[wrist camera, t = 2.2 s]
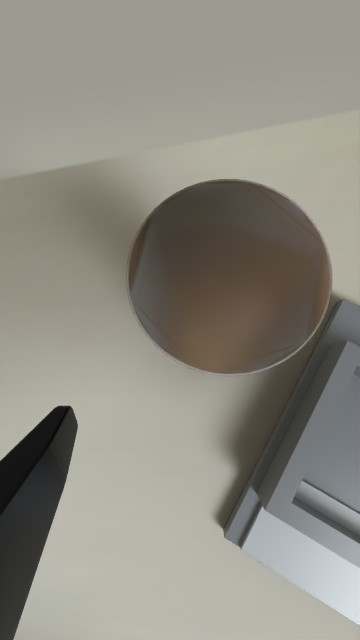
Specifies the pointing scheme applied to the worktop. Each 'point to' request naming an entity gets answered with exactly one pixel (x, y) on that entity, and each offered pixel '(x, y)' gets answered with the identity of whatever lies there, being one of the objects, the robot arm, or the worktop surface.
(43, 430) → the robot arm
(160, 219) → the round tan cylinder
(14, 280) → the worktop surface
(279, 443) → the cradle
